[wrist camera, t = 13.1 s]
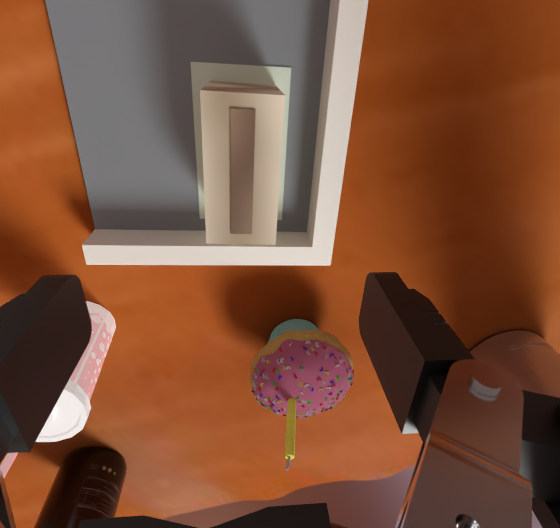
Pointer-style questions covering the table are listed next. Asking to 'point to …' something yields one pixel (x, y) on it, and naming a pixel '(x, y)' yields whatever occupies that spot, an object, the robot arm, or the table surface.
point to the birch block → (241, 161)
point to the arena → (187, 118)
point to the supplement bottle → (84, 488)
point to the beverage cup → (77, 385)
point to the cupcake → (300, 374)
